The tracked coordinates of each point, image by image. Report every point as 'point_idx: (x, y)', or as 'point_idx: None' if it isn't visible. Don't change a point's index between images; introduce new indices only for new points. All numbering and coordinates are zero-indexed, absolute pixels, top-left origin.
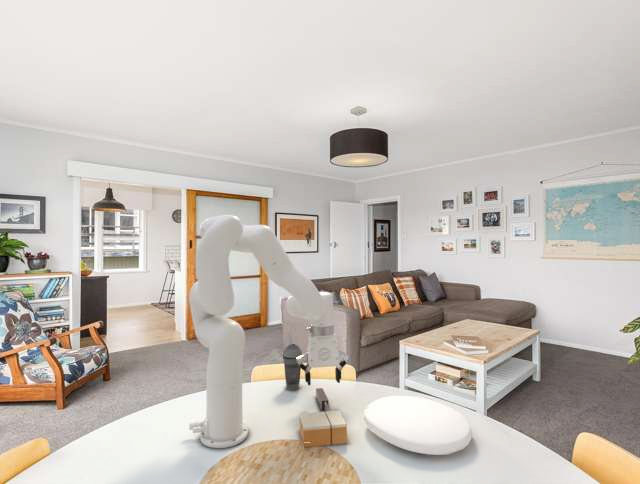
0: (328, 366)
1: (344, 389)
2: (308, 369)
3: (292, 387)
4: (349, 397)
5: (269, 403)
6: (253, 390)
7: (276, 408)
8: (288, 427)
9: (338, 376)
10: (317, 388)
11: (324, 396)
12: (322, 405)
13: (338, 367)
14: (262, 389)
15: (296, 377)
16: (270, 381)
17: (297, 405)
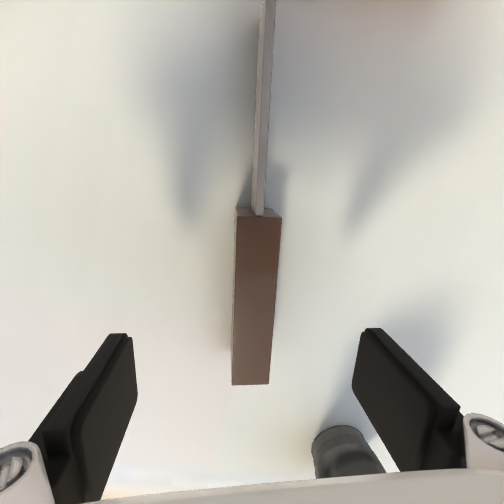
0: (213, 490)
1: None
2: (496, 458)
3: (352, 437)
4: (92, 329)
5: (476, 325)
6: None
7: (467, 274)
8: (491, 54)
9: (97, 372)
10: (261, 383)
11: (248, 277)
12: (272, 213)
13: (24, 491)
14: None
15: None
16: None
17: (369, 287)
